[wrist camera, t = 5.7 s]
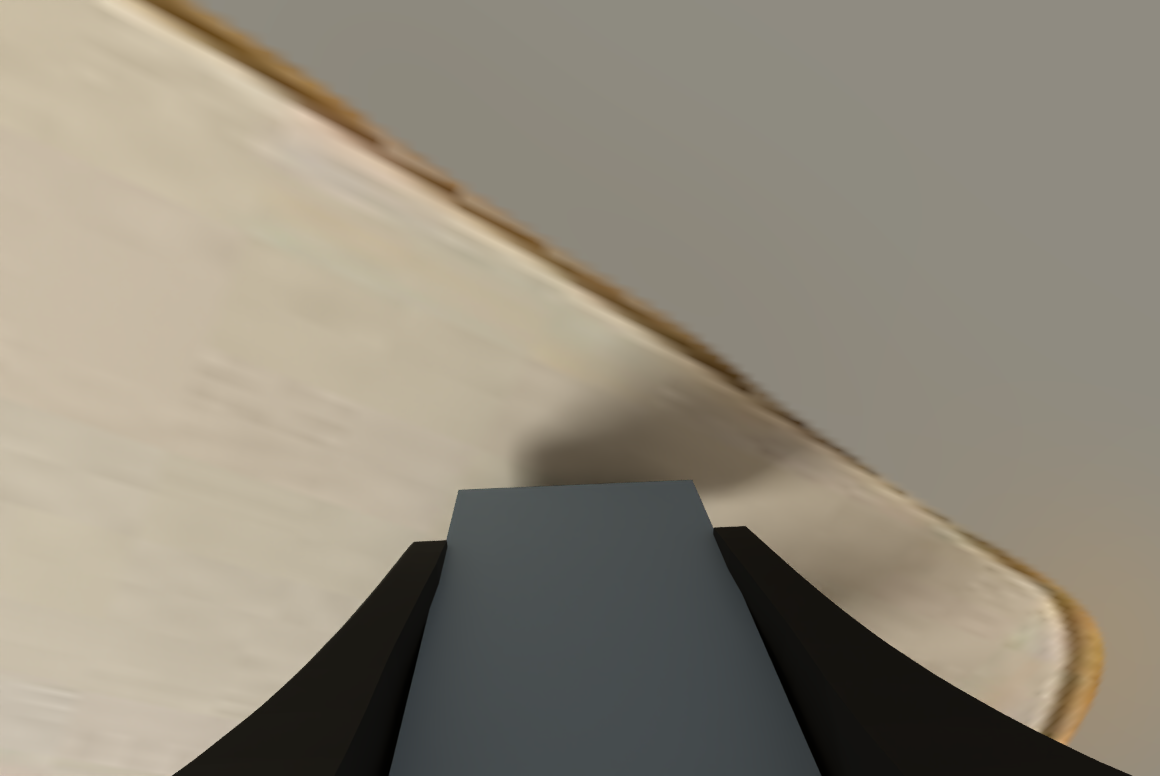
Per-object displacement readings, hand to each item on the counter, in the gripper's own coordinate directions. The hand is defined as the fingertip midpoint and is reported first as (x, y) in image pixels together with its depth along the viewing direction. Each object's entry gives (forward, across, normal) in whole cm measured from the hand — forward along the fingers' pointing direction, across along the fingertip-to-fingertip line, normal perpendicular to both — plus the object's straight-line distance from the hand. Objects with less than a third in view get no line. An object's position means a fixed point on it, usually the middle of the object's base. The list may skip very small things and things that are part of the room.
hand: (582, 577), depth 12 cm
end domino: (+2, 0, 0) cm, 2 cm away
